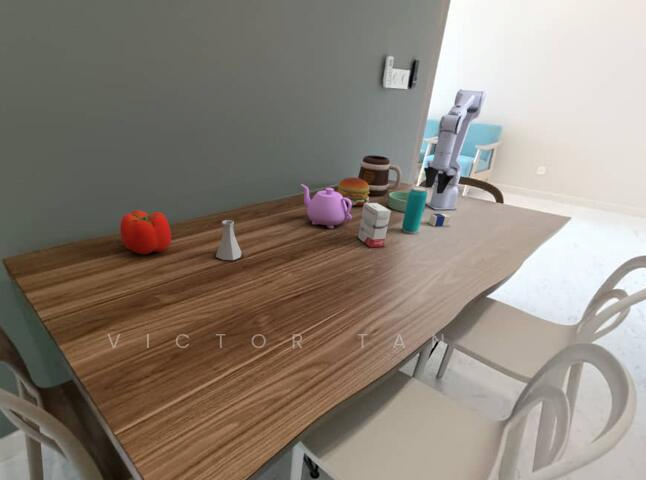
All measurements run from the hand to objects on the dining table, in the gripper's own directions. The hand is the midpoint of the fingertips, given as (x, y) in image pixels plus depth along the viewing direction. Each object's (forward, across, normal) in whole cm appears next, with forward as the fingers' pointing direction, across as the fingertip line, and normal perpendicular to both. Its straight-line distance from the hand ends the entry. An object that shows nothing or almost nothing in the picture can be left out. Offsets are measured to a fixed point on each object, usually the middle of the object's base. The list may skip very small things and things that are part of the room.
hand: (434, 190), depth 147 cm
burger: (+11, -19, -24) cm, 32 cm away
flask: (+11, +28, -79) cm, 84 cm away
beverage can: (+11, +14, -15) cm, 23 cm away
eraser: (+10, +8, 0) cm, 13 cm away
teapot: (+11, +3, -43) cm, 44 cm away
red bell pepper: (+11, +22, -101) cm, 104 cm away
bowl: (+10, -12, -4) cm, 16 cm away
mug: (+11, -33, -7) cm, 35 cm away
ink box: (+11, +22, -33) cm, 41 cm away
